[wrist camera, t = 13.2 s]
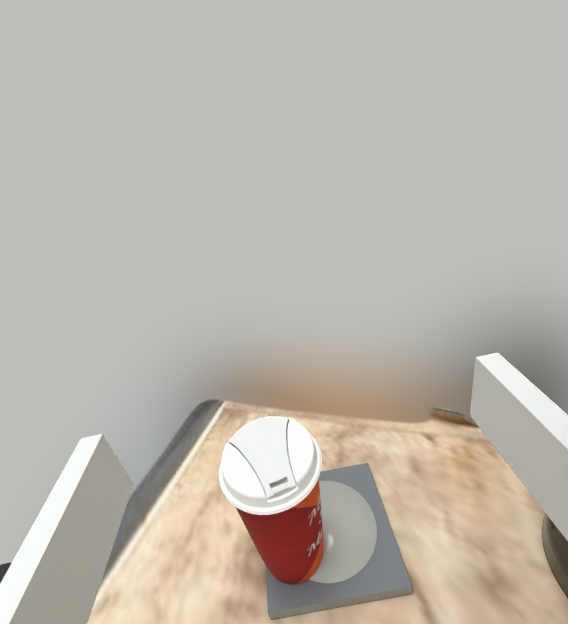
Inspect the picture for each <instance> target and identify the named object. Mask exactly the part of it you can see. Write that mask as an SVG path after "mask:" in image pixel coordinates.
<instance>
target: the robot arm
mask: <svg viewBox="0 0 568 624" xmlns="http://www.w3.org/2000/svg"><path fill="white" fill-rule="evenodd" d="M471 401H472V402H471V410H470V416H471V417H472V418H473V420H474V421H475V422H476V424H477V425H478V426H479V427H480V429H481V430H482V431H483V433H484V434H485V435H486V437H487V438H488V439H489V440H490V442H491V443H492V444H493V446H494V447H495V448H496V449H497V451H498V452H499V453H500V455H501V456H502V457H503V458H504V460H505V461H506V462H507V464H508V465H509V466H510V468H511V469H512V470H513V471H514V473H515V474H516V475H517V477H518V478H519V479H520V480H521V482H522V483H523V484H524V486H525V487H526V488H527V489H528V491H529V492H530V493H531V495H532V496H533V497H534V499H535V500H536V501H537V502H538V504H539V505H540V506H541V508H542V509H543V510H544V511H545V513H546V514H545V517H544V520H543V526H542V538H543V545H544V550H545V553H546V556H547V559H548V562H549V564H550V567H551V569H552V571H553V573H554V575H555V577H556V579H557V581H558V582H559V584H560V586H561V587H562V589H563V590H564V592H565V594H566V595H567V597H568V415H567V414H566V413H565V412H564V411H563V410H562V409H560V408H559V407H558V406H557V405H556V404H555V403H554V402H553V401H551V400H550V399H549V398H548V397H547V396H546V395H545V394H543V393H542V392H541V391H540V390H539V389H538V388H537V387H536V386H535V385H533V384H532V383H531V382H530V381H529V380H528V379H527V378H526V377H524V376H523V375H522V374H521V373H520V372H519V371H518V370H517V369H515V368H514V367H513V366H512V365H511V364H510V363H509V362H508V361H506V360H505V359H504V358H503V357H502V356H501V355H500V354H499V353H494V354H489V355H484V356H479V357H476V359H475V370H474V379H473V390H472V400H471ZM133 484H134V483H133V482H132V480H131V478H130V477H129V475H128V474H127V472H126V470H125V469H124V467H123V466H122V464H121V463H120V461H119V459H118V458H117V456H116V455H115V453H114V451H113V450H112V448H111V447H110V445H109V443H108V442H107V440H106V439H105V437H104V435H103V434H99V435H95V436H90V437H85V438H81V439H80V441H79V443H78V445H77V446H76V448H75V450H74V452H73V454H72V455H71V457H70V459H69V461H68V463H67V464H66V466H65V468H64V470H63V472H62V473H61V476H60V477H59V479H58V481H57V482H56V484H55V486H54V488H53V490H52V492H51V493H50V495H49V497H48V499H47V500H46V502H45V504H44V506H43V508H42V510H41V511H40V513H39V515H38V517H37V519H36V520H35V522H34V524H33V526H32V527H31V529H30V531H29V533H28V535H27V537H26V539H25V540H24V542H23V544H22V546H21V547H20V549H19V551H18V553H17V554H16V557H15V558H14V560H13V562H12V563H7V564H2V565H0V624H87V622H88V619H89V616H90V613H91V610H92V607H93V604H94V601H95V598H96V595H97V592H98V589H99V586H100V583H101V580H102V577H103V574H104V571H105V568H106V565H107V562H108V559H109V556H110V553H111V550H112V547H113V544H114V541H115V538H116V535H117V532H118V529H119V526H120V523H121V520H122V517H123V514H124V511H125V508H126V505H127V502H128V499H129V496H130V493H131V490H132V487H133Z"/></svg>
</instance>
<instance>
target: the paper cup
mask: <svg viewBox="0 0 568 624" xmlns="http://www.w3.org/2000/svg"><path fill="white" fill-rule="evenodd" d="M321 465H322V458H321V452H320V448H319V446H318V444H317V442H316V440H315V439H314V437H313V436H312V435H311V434H310V433H309V432H308V431H307V430H306V429H305V427H304V426H303V425H301V424H300V423H298V422H297V421H295V420H293V419H291V418H286V417H279V416H267V417H262V418H259V419H256V420H254V421H251V422H249V423H247V424H246V425H244V426H243V427H241V428H240V429H239V430H238V431H237V432H236V433H235V434H234V435H233V436H232V437H231V438H230V440H229V441H228V442H227V444H226V446H225V448H224V450H223V454H222V458H221V464H220V468H219V481H220V485H221V489H222V491H223V493H224V495H225V497H226V498H227V499H228V500H229V502H230V503H232V504H233V505H234V506H235V507H236V508H237V510H238V512H239V514H240V516H241V518H242V520H243V522H244V524H245V526H246V528H247V530H248V532H249V534H250V536H251V538H252V540H253V542H254V544H255V546H256V548H257V550H258V552H259V554H260V555H261V557H262V559H263V561H264V563H265V565H266V566H267V568H268V570H269V571H270V573H271V574H272V575H273V576H274V577H275V578H276V579H278V580H279V581H281V582H283V583H287V584H299V583H302V582H304V581H306V580H308V579H309V578H311V577H312V576H313V575H314V574H315V572H316V571H317V570H318V568H319V566H320V564H321V561H322V557H323V526H322V512H321V499H320V486H319V475H320V472H321Z"/></svg>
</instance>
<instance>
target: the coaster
mask: <svg viewBox="0 0 568 624" xmlns="http://www.w3.org/2000/svg"><path fill="white" fill-rule="evenodd" d="M319 486H320V499H321V512H322V526H323V557H322V561H321V564H320V566H319V568H318V570H317V571H316V572H315V574H314V575H313V576H312V577H311V578H309V579H308V580H306V581H304V582H302V583H299V584H287V583H283V582H281V581H279V580H278V579H276V578H275V577H274V576H273V575H272V574H271V573H270V571H269V570H268V568H267V596H268V614H269V617H270V619H271V620H273V619H278V618H283V617H289V616H294V615H300V614H305V613H310V612H316V611H321V610H327V609H332V608H337V607H343V606H348V605H354V604H359V603H364V602H370V601H375V600H381V599H386V598H391V597H397V596H402V595H408V594H412V584H411V581H410V579H409V576H408V573H407V570H406V567H405V565H404V562H403V559H402V556H401V554H400V551H399V548H398V545H397V542H396V540H395V537H394V534H393V531H392V529H391V526H390V523H389V520H388V517H387V515H386V512H385V509H384V506H383V504H382V501H381V498H380V495H379V492H378V490H377V487H376V484H375V481H374V479H373V476H372V473H371V470H370V467H369V465H368V463H366V464H361V465H355V466H350V467H344V468H339V469H333V470H328V471H323V472H320V475H319ZM266 567H267V566H266Z"/></svg>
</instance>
